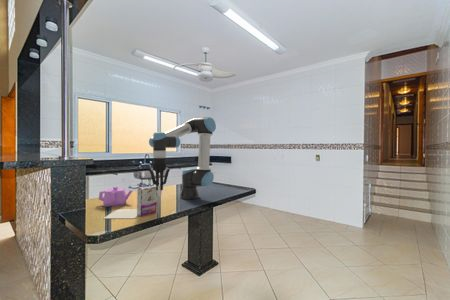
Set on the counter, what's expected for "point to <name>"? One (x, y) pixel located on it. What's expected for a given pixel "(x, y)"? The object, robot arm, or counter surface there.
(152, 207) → the candy bar box
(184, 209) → the counter surface
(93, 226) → the counter surface
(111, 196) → the teakettle
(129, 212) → the mat
